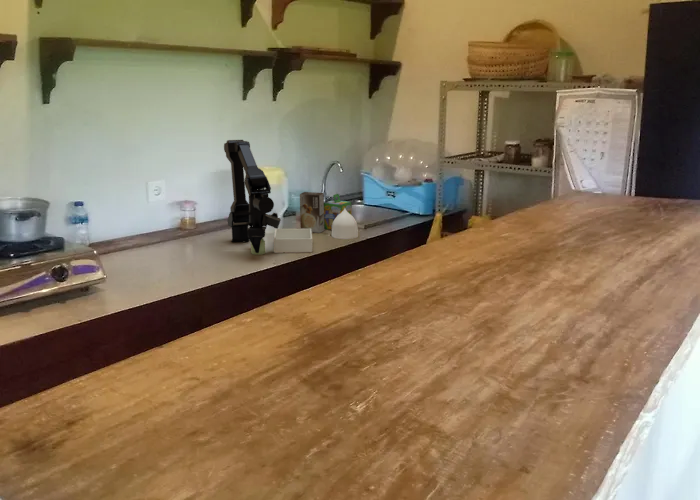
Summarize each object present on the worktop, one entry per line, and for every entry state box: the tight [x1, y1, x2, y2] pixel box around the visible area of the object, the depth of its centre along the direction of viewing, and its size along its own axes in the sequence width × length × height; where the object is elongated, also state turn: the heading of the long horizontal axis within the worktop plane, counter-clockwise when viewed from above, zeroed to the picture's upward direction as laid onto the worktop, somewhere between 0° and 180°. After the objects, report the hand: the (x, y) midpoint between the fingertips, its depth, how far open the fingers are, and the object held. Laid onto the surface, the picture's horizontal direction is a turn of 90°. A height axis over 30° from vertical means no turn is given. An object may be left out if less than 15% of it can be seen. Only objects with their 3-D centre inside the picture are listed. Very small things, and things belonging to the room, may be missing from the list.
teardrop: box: [331, 208, 359, 240], centre depth 278 cm, size 11×11×12 cm
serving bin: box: [273, 228, 313, 254], centre depth 261 cm, size 14×17×5 cm
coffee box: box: [299, 191, 326, 234], centre depth 286 cm, size 9×6×16 cm
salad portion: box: [250, 237, 266, 256], centre depth 251 cm, size 5×5×6 cm
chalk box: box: [324, 193, 352, 231], centre depth 291 cm, size 9×9×15 cm
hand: (258, 249), depth 252 cm, fingers open, 9 cm apart
